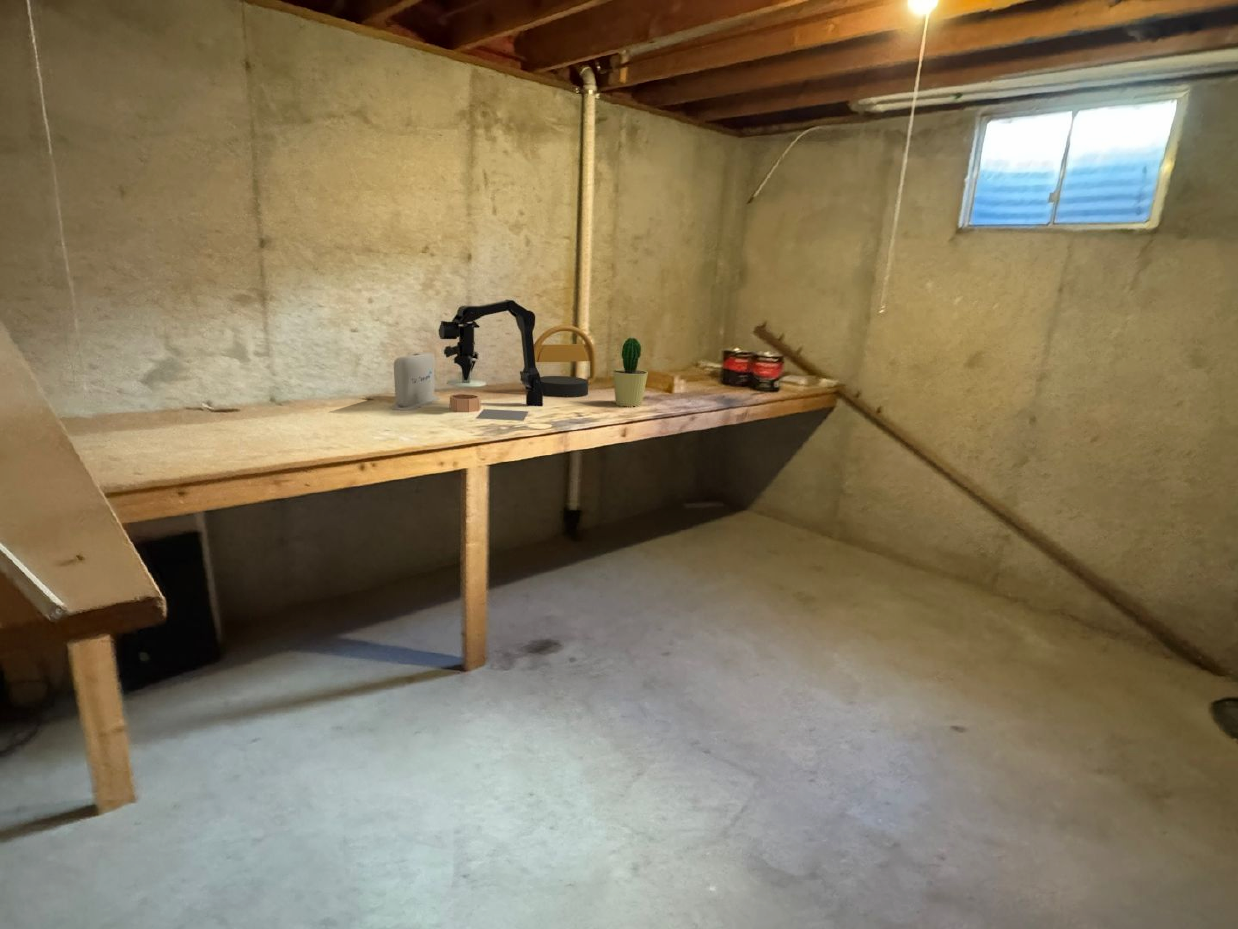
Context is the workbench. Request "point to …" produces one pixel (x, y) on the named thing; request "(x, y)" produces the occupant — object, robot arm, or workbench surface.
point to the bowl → (465, 403)
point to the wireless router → (414, 381)
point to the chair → (566, 353)
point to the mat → (502, 414)
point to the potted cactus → (630, 376)
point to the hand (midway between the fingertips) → (466, 379)
